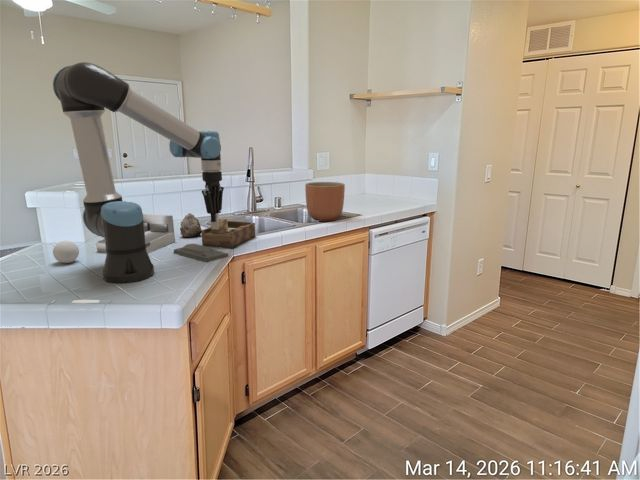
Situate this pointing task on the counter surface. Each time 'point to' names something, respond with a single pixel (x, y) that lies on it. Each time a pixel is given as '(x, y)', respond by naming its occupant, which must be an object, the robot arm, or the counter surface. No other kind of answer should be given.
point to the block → (221, 226)
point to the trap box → (229, 235)
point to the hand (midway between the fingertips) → (215, 229)
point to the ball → (66, 251)
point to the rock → (190, 226)
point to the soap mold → (200, 253)
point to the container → (152, 232)
